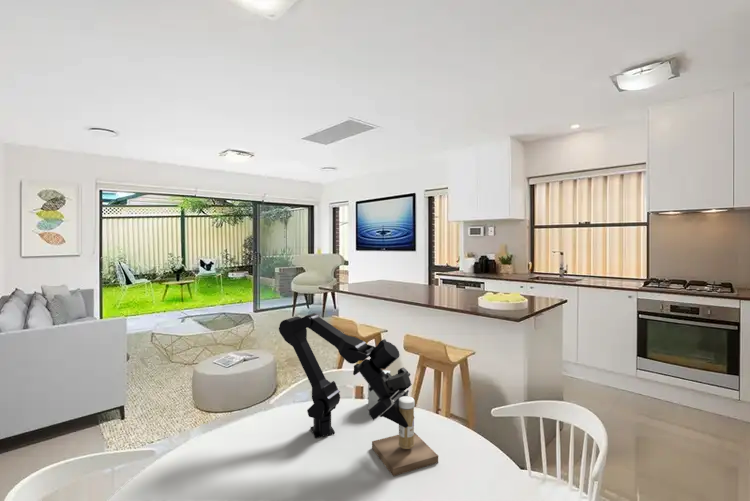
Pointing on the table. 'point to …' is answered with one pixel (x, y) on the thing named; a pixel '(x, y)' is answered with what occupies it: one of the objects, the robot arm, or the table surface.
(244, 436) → the table surface
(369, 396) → the supplement box
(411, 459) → the brown wooden square board
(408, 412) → the sprinkles bottle
